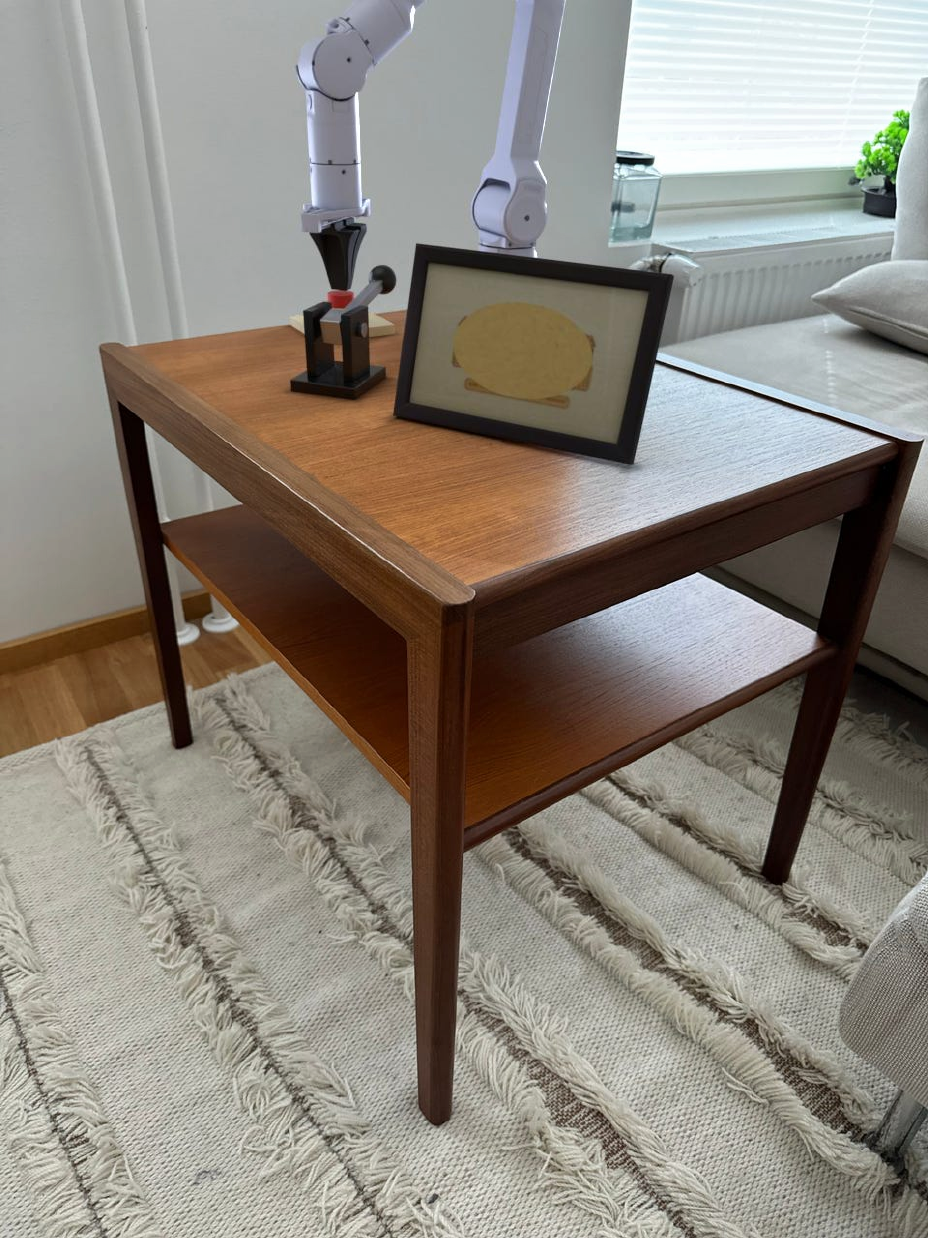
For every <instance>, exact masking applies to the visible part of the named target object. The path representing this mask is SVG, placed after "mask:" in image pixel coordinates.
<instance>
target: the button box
mask: <svg viewBox="0 0 928 1238" xmlns="http://www.w3.org/2000/svg"><path fill="white" fill-rule="evenodd" d="M323 301H325V302H328V299H327V300H322V301H319V302H317V303H316V304H318V303H321V302H323ZM332 309H335V308H332ZM338 310H344V309H338ZM368 313H369V338H373V337H380V336H391V335H395V334H396V325H395V323H392V322H390V321H388V320H386V319H384V318H383V317H382V316H379V315H377V314H375V313H373V312H371V311H369V310H368ZM289 320H290V326H291V327H293V328H294V329H296V330H297V331H299V332H300V333H302V334H304V319H303V314H297V315H289Z"/></svg>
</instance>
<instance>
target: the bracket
mask: <svg viewBox="0 0 928 1238" xmlns="http://www.w3.org/2000/svg"><path fill="white" fill-rule="evenodd" d="M322 301H323V302H322ZM322 301H320V302H321V303H318V302H317V303H318V304H317V303H316V304H314V305H312V306H309V307H308V308H305V309H303V310H302V315H303V319H304V333H303V335H304V346H305V347H304V349H305V362H306V363H305V365H306V369H305V371H302V372H301V373H299V374H297V375H296V376H294V377H293V378H291V379H290V380H289V385H290V392H293V393H301V394H307V395H314V396H320V397H322V396H323V397H328V398H335V399H344V400H351V401H356V400H357V399H358V398H360V397H361V396H363V395H364V394H365V393H367V392H368V391H370V390H371V389H373V388H374V387H375V386H377V385H378V384H380V383H381V382H382V381H384V380H385V379H386V378H387V367H386V366H381V365H374V364H371V352H370V350H371V349H370V337H369V313H368V311H369V305H368V306H362V305H359V306H357V307H355V308H353V309H351V310H349V311H347V312H345V313H344V314H342V315H341V331H342V345H341V351H342V354H341V355H342V360H336V359H335V344H326V343H323V340H322V334H321V327H320V319H321V318H322V317H323V316H324V315H325V314H326V313H327V312H328V311H329V310H330V309H332V302H325V300H322Z"/></svg>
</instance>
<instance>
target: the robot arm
mask: <svg viewBox="0 0 928 1238" xmlns="http://www.w3.org/2000/svg"><path fill="white" fill-rule="evenodd" d="M427 1H428V0H355V1H354V2H353V3H352V4H351V5H350V6H349V7H348V8H347V9H346V10H345V11H343V12H342V13H341V14H340V16H338V17H337V18H336V17H334V16H333V17H329V19H328V20H327V21H326V22H325V23H324V27H326V35H316V36H313V37H311V38H310V39H308V40H307V41H306V42H305V43H304V44H303V46H302V47H301V48H300V52H299V53H300V55H299V56H298V61H297V64H295V66H294V69H295V75H296V77H297V80H298V82H299V85H300V86H301V87H302V89H303V90H304V91H305V101H306V102H305V103H306V104H305V105H306V128H307V129H306V130H307V131H306V132H307V145H308V148H307V149H308V162H309V179H310V195H311V202H305V203H303V204H302V210H303V212H300V229H301V230H300V231H301V232H302V233H308V234H309V236H310V237H311V239H312V241H313V242H314V244H315V246H316V248H317V250H318V253H319V255H320V257H321V259H322V262H323V266H324V270H325V273H326V276H327V280H328V283H329V287H330V289H331V290H332V291H337V290H342V291H350V290H351V289H352V286H353V280H354V275H355V269H356V263H357V259H358V254H359V251H360V249H361V245H362V242H363V241H364V238H365V236H366V234H367V231H368V225H367V224H366V223H362V222H355V220H357V219H359V218H368V217H371V215H372V214H371V199H370V198H363V194H362V193H363V191H362V164H361V138H360V137H361V135H360V115H359V114H360V113H359V93H360V92H361V91H362V90H363V88H364V87H365V84H366V82H367V79H368V78H367V76H368V73H371V71H372V70H373V69H374V68H375V67H376V66H378V65H379V64H380V63H381V62H382V61H383V60H384V59H385V58H386V57H387V56H388V55H389V54H390V53H391V52H392V51H393V50H394V49H395V48H397V46H399V45H400V44H401V42H403V41H404V40H405V39H406V38H407V37H408V36H409V35H411V34H412V32H413V25H414V17H415V12H416V11H417V10H418V9H419V8H421V7H422V6H423V5H424V4H425V3H426V2H427ZM514 1H515V4H516V7H515V14H514V21H513V29H512V32H511V33H512V34H511V41H510V47H509V54H508V61H507V66H506V67H507V68H506V73H505V74H506V75H505V81H504V88H503V94H502V100H501V107H500V114H499V120H498V128H497V134H496V141H495V145H494V146H495V147H494V153H493V156H492V157H491V159H490V160H489V161H488V162H487V164H486V165H485V167H483V169H482V171H481V178H480V183H479V185H478V188H477V189H476V191H475V192H474V194H473V196H472V199H471V202H470V210H469V211H470V217H471V221H472V223H473V225H474V226H475V228H476V229H477V230H478V249H477V251H485V252H493V253H501V254H509V255H518V256H526V257H534V258H538V254H537V252H536V249H535V248H536V247H537V240H538V239H539V238H540V237H541V236H542V234H543V232H544V230H545V229H546V225H547V222H548V207H547V203H546V191H547V190H546V189H547V185H548V183H547V180H546V177H545V176H544V173H543V171H542V169H541V166H540V165H539V159H540V158H539V157H540V152H541V151H540V150H541V146H542V141H543V134H544V129H545V122H546V118H547V117H546V116H547V111H548V106H549V99H550V92H551V88H552V81H553V77H554V70H555V65H556V64H555V63H556V59H557V54H558V53H557V52H558V48H559V40H560V35H561V29H562V24H563V17H564V11H565V6H566V0H514Z"/></svg>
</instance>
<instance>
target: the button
mask: <svg viewBox="0 0 928 1238" xmlns="http://www.w3.org/2000/svg"><path fill="white" fill-rule="evenodd" d="M326 293H327V294H326V295H327V300H328V302H332V308H335V309H344V308H345V307H346V306H347V305H348V304H349V303H350V302H351V301H352V300H353V299H354V298H355V292H353V291H351V290H347V291H342V290H331V291H328V292H326Z"/></svg>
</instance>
